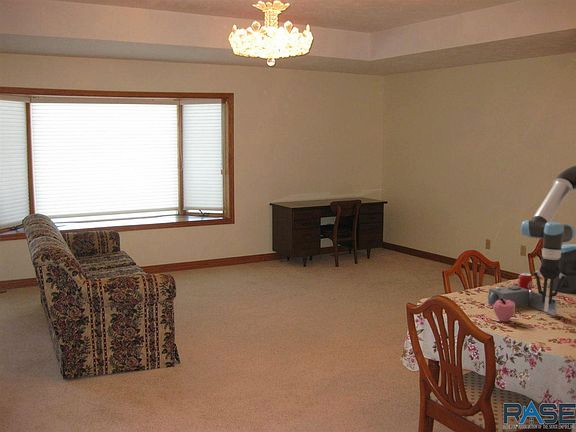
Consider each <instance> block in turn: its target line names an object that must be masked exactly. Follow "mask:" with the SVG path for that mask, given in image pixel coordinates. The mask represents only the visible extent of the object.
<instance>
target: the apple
mask: <svg viewBox="0 0 576 432" xmlns="http://www.w3.org/2000/svg"><path fill="white" fill-rule="evenodd" d="M492 306H493V308H492V309H493V312H494V313H495V315H496V318H497V319H498V320H499V321H500V322H504V323H507V322H510V320H511V318H512V317H513V316H514V315H515V310H516V307H515V303H514V302H513V301H511V300H505V299H502V298H501V299H500V300H497V301H496V302H495V304H494V305H492Z"/></svg>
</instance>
